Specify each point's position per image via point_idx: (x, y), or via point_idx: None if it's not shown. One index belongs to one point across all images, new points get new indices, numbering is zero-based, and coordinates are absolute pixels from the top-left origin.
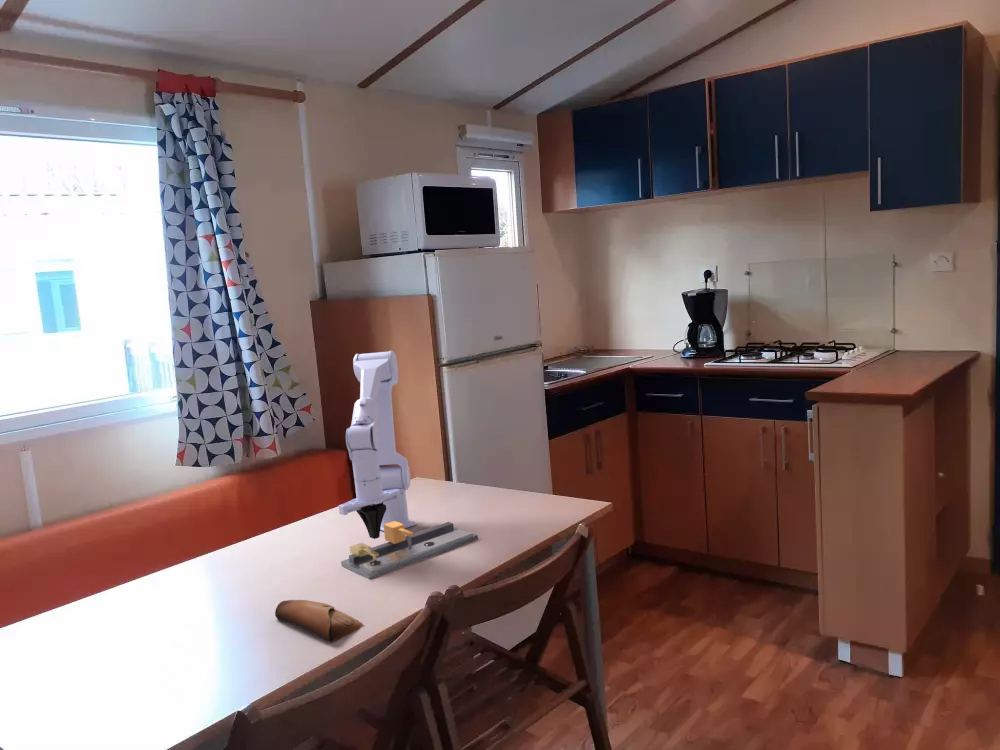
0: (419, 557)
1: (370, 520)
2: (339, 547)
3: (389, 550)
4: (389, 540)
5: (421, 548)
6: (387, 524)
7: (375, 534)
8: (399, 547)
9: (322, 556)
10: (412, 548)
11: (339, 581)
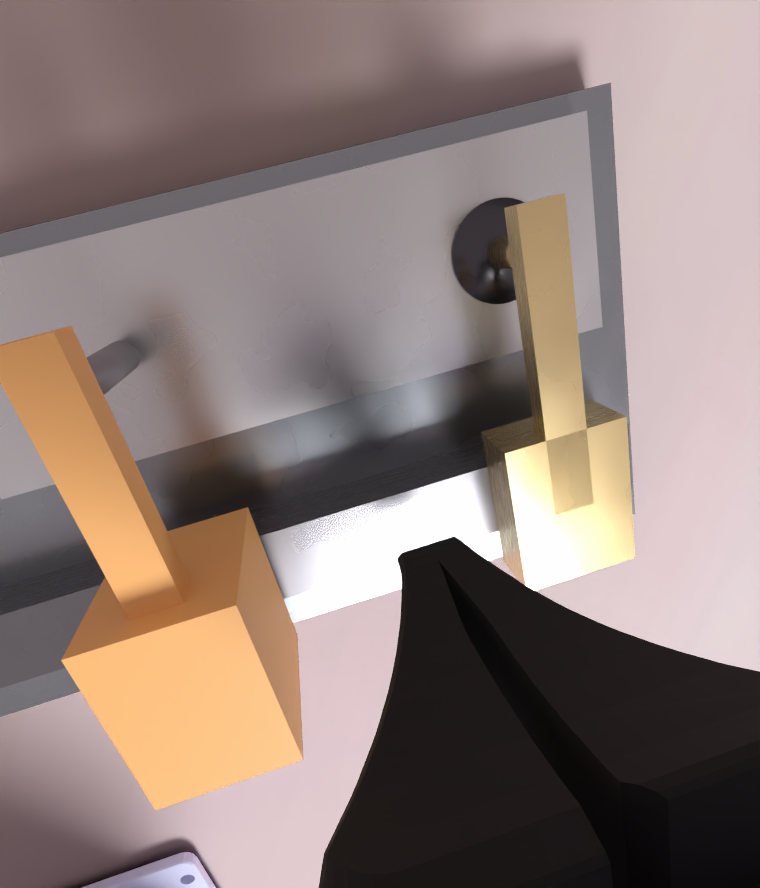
0: (72, 217)
1: (632, 643)
2: None
3: (296, 502)
4: (275, 585)
5: None
6: (261, 743)
7: (459, 553)
8: None
9: None
10: None
11: (747, 225)
